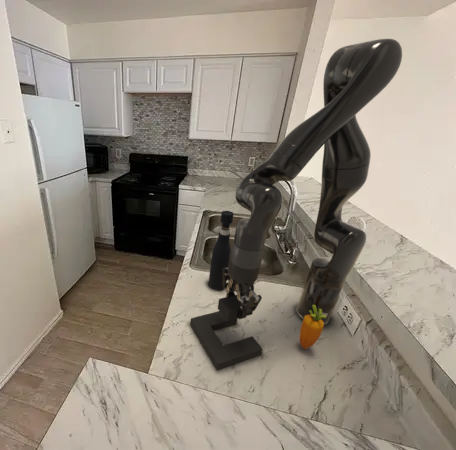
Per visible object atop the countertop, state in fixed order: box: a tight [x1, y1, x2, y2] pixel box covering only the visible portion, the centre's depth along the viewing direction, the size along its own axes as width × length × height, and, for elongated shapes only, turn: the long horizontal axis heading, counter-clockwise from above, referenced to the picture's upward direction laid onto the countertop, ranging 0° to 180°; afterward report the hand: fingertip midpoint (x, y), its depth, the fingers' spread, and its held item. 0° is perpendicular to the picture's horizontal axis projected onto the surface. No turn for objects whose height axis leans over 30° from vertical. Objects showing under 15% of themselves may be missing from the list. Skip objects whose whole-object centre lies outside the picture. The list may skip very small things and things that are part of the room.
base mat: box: [189, 310, 264, 371], centre depth 74 cm, size 14×16×2 cm
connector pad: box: [217, 294, 254, 321], centre depth 70 cm, size 8×5×4 cm, turn 109°
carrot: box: [299, 305, 326, 350], centre depth 69 cm, size 5×5×15 cm
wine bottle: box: [208, 210, 234, 292], centre depth 90 cm, size 6×6×30 cm
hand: (234, 310), depth 71 cm, fingers closed on connector pad, 5 cm apart
